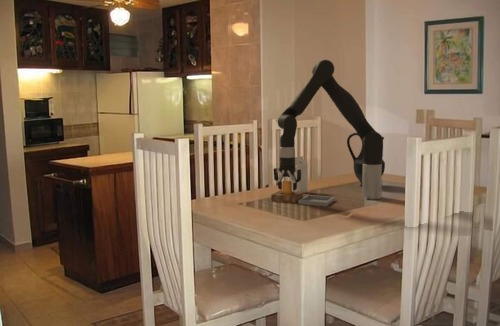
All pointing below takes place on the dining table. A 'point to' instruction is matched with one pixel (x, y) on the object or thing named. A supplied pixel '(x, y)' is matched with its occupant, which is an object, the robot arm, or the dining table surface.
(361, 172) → the pitcher
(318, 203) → the tray
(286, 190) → the plug
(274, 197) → the socket block
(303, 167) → the milk carton
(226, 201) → the dining table surface
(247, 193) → the dining table surface
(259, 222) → the dining table surface
